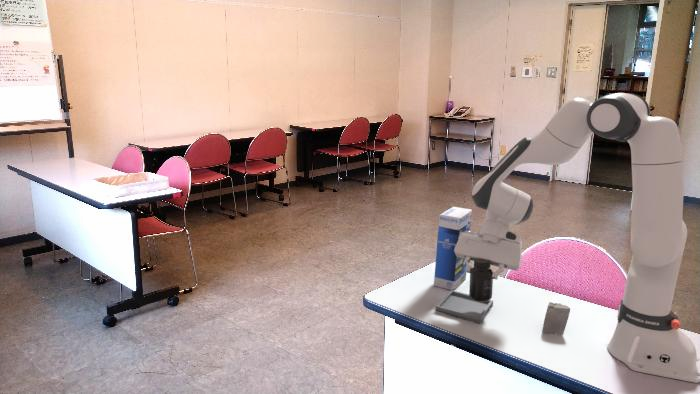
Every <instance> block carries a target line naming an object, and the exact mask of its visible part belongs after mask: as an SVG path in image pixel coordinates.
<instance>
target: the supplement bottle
mask: <svg viewBox="0 0 700 394" xmlns="http://www.w3.org/2000/svg"><path fill="white" fill-rule="evenodd" d="M492 274H493V269H492V268H491V265H490V260H487V259H481V258H477V259H475V260H474V261H473V267H472V269H471V271H470V273H469V290H468V291H469V293H468V294H469V296H470V297H471V298H472V299H473V300H476V301H488V300H492V298H493V285H494V283H493V282H494V279H492Z"/></svg>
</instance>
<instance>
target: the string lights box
mask: <svg viewBox="0 0 700 394" xmlns="http://www.w3.org/2000/svg"><path fill="white" fill-rule="evenodd" d="M472 215H473V209H470V208H466V207H465V208H463V207H458V206H451V208H449V209H447V210H445V211H444V212H442V213H440V214H439V215H438V217H439V218H438V229H437V241H436V253H435V267H434V277H433V279H434V280H433V286H434V287H437V288H441V289H442V288H443V289H446V290H450V291H451V290H453V291H455V290H456V288H458V287H459V286H460V285H461V284H462V283H463V282H464V281H465V280H466V279H467V272H466V271H465V269H466V266H467V265H466V261H465V259H463V258H459V257H457V256H456V254H455V252H454V249H455V246H456V244H457V242H458V238H459V235H460V233H461V232H464V231H470V232H471V226H472V225H471V224H472Z"/></svg>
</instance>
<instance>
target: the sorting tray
mask: <svg viewBox="0 0 700 394" xmlns="http://www.w3.org/2000/svg"><path fill="white" fill-rule="evenodd" d="M493 306H494V300H492V299H490V300H488V301H476V300H473V299H472V298H471V297H470V296H469V293H464V292H460V291H458V290H457V291H456V290H450V291H449V292H448V293H446V295H445V296H444V297H443V298H442V299H441V300H440V301H439V302H438V303H437V304H436V305H435V313H438V314H439V313H440V314H443V315H446V316H450V317H454V318H457V319H461V320H465V321H468V322H473V323H475V324H479V325H480V324H481V323H482V322H483V320H484V319H485V317H486V316H487V314H488V313H489V312H490V310H492V308H493Z"/></svg>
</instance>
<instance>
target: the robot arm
mask: <svg viewBox="0 0 700 394" xmlns="http://www.w3.org/2000/svg"><path fill="white" fill-rule="evenodd" d="M650 109H651V108H650V106H649V103H648V101H646V99H645V98H643V96H641V95H639V94H636V93H631V92H630V93H629V92H627V93H625V92H617V93H616V92H615V93H611V94H607V95H604V96H603V95H602V96H601V97H599V98H598V99H596V100H595V101H594V102H592V101H590V100H589V99H586V98H582V97H574V98H571V99H569V100H567V102H565V103H564V104H563V105H562V106H561V107H560V108H559V109H558V110H557V112H556V113H554V114H553V116H552V117H551V118H550V119H549V121H548V122H547V124H546V125H545V126H544V128H542V130H541V131H539V132H538V133H537V134H534V135H533V136H529V137H526V136H525V137H524V138H522V139H521V140H519V141H518V142H517V143H516V144H515V145H514V146H513V147H511V148H510V149H509V150H508V151H507V152H506V154H504V156H503V157H502V158H501V159H500V160H499V161H498V162H497V163H496V164H495V165H494V166H493V167H492V168H491V169H490V170H489V171H488V172H487V173H485V174H484V175H483V176H482V177H481V178H480V179H479V180H478V181H477V182H476V183H475V184H474V186H473V188H472V191H471V198H472V201H473V203H474V205H475V206H476V207H477V208H480V209H482V210H485V218H484V220H483V221H482V223H481V226H480V229H479V232H476V231H471V230H470V231H464V232H461V233H460V235H459V238H458V242H457V244H456V246H455V249H454V252H455V254H456V256H457V257H459V258H463V259H465V261H466V265H467V266H466V269H465V271H466V274H470V271H471V269H472V268H473V267H472V266H471V265H470V264H471V263H472V261H473V262H474V260H475V259H477V258H481V259H487V260H490V266H493V267H494V266H495V267H498V269H497V270H496V271H493V270H492V271H493V274H492V279H493V280H498V277H499V276H500V275H501V274H502V273H503V272H505V269H507V270H512V271H516V272H517V271H519V270H520V269H521V265H522V259H523V254H522V247H523V243H522V238H521V236H520V235H518V234H516V233H515V232H513V231H511V227H512V226H513V225H514V226H515V225H518V224H521V223H525V222H526V221H528V220H529V219H530V217H531V216H532V213H533V209H534V201H533V198H532V196H531V195H529V194H528V193H526V192H524V191H522V190H520V189H518V188H515V187H513V186H511V185H509V184H507V183H505V182H503V181H504V180H505V179H506V178H508V176H509V175H511V173H513V171H514V170H515V169H516V168H518V167H519V166H521V165H523V164H540V165H541V164H542V165H548V166H557V165H562V164H565V163H568V162H570V161H571V160H572V159H573V158H574V157H575V156H576V154H577V153H578V152H579V151H580V149H581V148H583V146H584V145H585V143H586V142H587V140H589V138H590V137H591V136H593V134H595V135H597V136H598V137H601V138H605V139H609V140H614V141H617V142H622V143H623V142H624V143H625V142H627V143H628V144H629V147H630V153H631V154H630V158H631V181H632V183H631V184H632V200H631V201H632V202H631V218H630V249H631V253H632V257H631V261H630V264H629V268H628V270H627V271H628V272H627V276H626V280H625V286H624V290H623V291H624V292H623V297H622V299H621V301H620V304H619V306H618V310H617V323H616V327H615V330H614V332H613V335H612V337H611V339H610V341H609V342H608V343H607V350H608V352H609V353H610V354H611V355H612V356H613V357H614V358H615V359H617V360H619V361H620V362H623V363H624V364H625V365H626V366H627V367H628V368H629V369H630V370H632V371H634V372H638V373H644V374H647V375H648V374H649V375H653V376H659V377H664V378H669V379H675V380H679V381H684V382H690V383H695V384H697V383H700V357H698V355H697V349H696V346H695V344H694V342H693V340H692V339H691V338H690V337H689V336H688V335H686V333H685V332H683V331H682V330H681V321H680V320H679V316H678V314H677V312H676V311H673V310H671V309H672V304H673V300H674V295H675V290H676V285H677V281H678V277H679V273H680V268H681V263H682V261H683V256H684V251H685V246H686V242H687V237H688V228H687V227H688V226H687V224H686V223H685V222H684V220H683V219H684V218H683V217H684V215H683V214H684V213H683V212H684V194H685V193H684V191H685V189H684V186H685V185H684V184H685V183H684V158H683V146H682V140H681V136H680V131H679V127H678V125H677V123H676V122H675V121H674V120H673V119H671V118H668V117H665V116H659V115H658V116H650V114H651V111H650Z"/></svg>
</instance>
